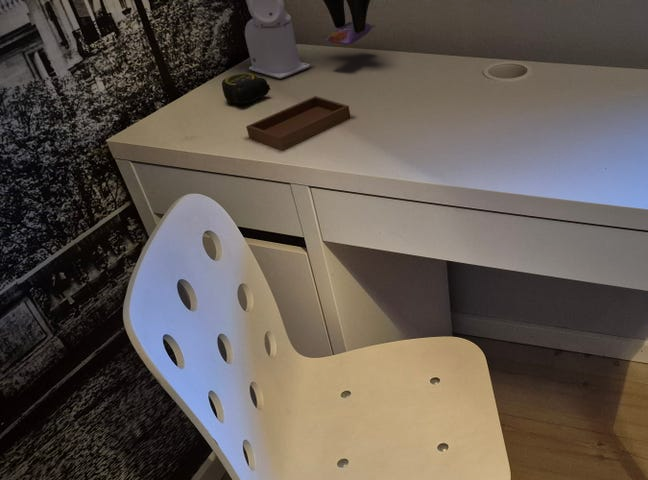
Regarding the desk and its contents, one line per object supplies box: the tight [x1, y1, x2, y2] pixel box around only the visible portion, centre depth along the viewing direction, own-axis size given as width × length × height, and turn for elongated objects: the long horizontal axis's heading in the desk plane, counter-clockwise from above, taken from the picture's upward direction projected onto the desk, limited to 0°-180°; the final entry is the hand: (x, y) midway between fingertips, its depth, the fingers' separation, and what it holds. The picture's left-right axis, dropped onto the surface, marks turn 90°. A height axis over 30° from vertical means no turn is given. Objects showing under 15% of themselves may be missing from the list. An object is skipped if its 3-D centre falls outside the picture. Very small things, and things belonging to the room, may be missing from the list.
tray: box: [245, 95, 351, 151], centre depth 111 cm, size 15×8×2 cm, turn 144°
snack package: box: [324, 21, 376, 45], centre depth 130 cm, size 12×2×5 cm
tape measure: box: [221, 73, 271, 104], centre depth 120 cm, size 7×7×4 cm
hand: (350, 29), depth 129 cm, fingers closed on snack package, 5 cm apart
